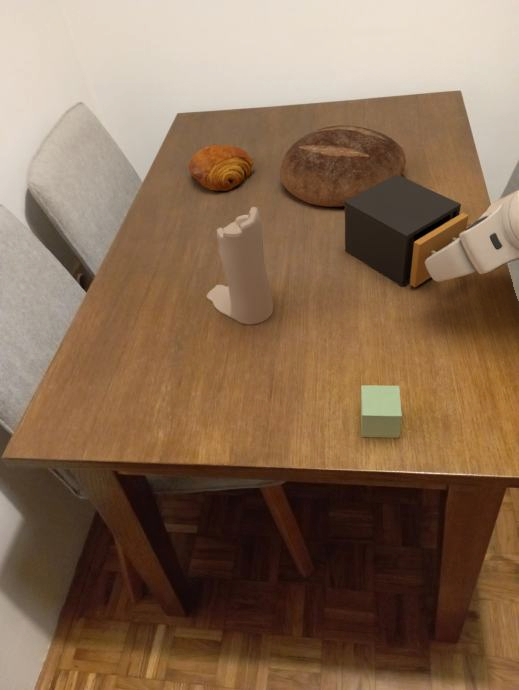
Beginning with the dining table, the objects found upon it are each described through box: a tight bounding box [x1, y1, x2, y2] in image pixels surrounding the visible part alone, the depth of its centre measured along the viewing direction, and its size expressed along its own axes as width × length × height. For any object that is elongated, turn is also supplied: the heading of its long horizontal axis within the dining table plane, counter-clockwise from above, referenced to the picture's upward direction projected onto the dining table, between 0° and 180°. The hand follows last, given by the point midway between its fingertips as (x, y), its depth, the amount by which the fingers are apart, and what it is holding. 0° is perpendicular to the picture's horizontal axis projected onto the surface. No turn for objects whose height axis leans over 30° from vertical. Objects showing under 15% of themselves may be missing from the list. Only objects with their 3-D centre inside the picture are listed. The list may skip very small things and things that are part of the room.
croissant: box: [187, 143, 254, 192], centre depth 123 cm, size 14×16×8 cm
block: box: [360, 384, 403, 439], centre depth 71 cm, size 5×5×5 cm
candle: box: [206, 206, 274, 326], centre depth 86 cm, size 7×14×20 cm, turn 50°
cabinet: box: [344, 174, 462, 288], centre depth 93 cm, size 15×13×11 cm
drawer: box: [406, 212, 470, 288], centre depth 90 cm, size 18×11×9 cm, turn 36°
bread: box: [279, 125, 407, 208], centre depth 114 cm, size 26×27×10 cm
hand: (451, 252), depth 86 cm, fingers closed on drawer, 6 cm apart
